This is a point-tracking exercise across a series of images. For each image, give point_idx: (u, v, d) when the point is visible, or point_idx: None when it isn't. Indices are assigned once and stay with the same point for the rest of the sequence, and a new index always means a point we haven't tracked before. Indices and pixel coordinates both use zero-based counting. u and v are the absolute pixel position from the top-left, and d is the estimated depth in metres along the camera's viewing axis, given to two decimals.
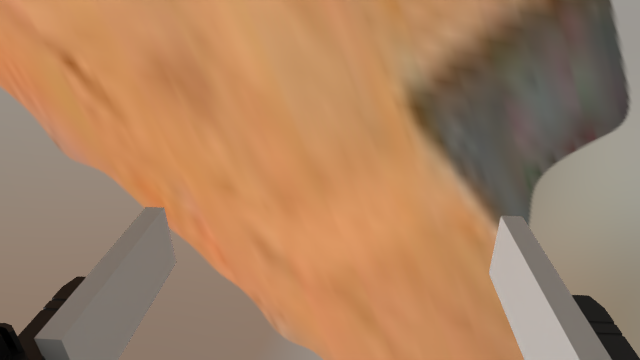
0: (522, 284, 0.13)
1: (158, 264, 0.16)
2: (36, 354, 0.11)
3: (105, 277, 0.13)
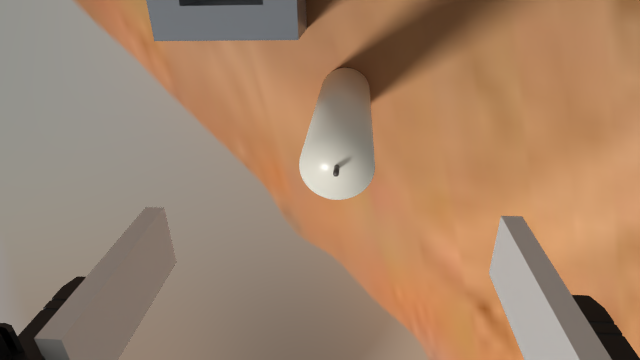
0: (522, 284, 0.13)
1: (158, 264, 0.16)
2: (36, 354, 0.11)
3: (105, 277, 0.13)
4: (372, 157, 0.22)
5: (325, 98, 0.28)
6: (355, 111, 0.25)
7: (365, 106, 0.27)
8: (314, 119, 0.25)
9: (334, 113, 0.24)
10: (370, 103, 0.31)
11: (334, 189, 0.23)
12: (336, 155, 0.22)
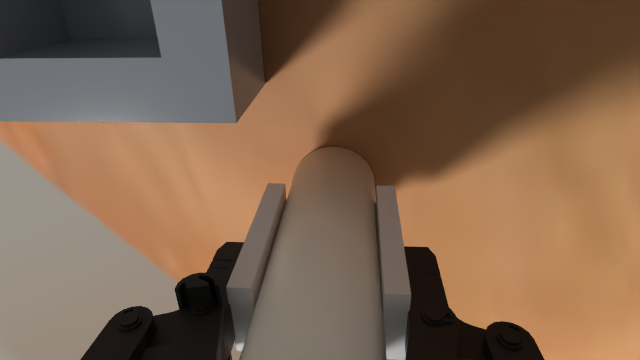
0: (378, 240, 0.16)
1: None
2: (222, 302, 0.13)
3: (262, 240, 0.15)
4: None
5: (288, 244, 0.14)
6: (347, 307, 0.11)
7: (369, 263, 0.13)
8: (257, 320, 0.11)
9: (297, 331, 0.10)
10: None
11: None
12: None
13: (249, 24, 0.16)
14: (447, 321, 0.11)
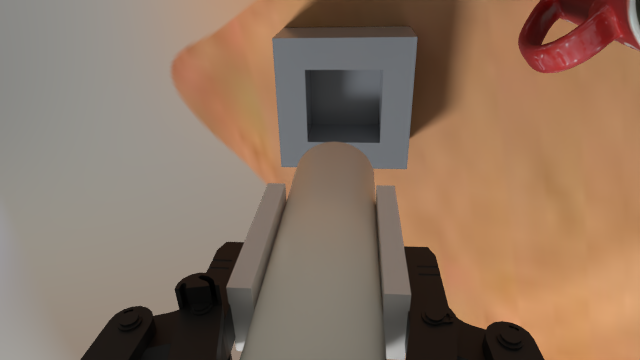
0: (378, 239, 0.16)
1: None
2: (222, 303, 0.13)
3: (262, 240, 0.15)
4: None
5: (291, 232, 0.14)
6: (348, 289, 0.12)
7: (368, 250, 0.14)
8: (262, 302, 0.12)
9: (301, 310, 0.11)
10: (376, 217, 0.17)
11: None
12: None
13: None
14: (447, 321, 0.11)
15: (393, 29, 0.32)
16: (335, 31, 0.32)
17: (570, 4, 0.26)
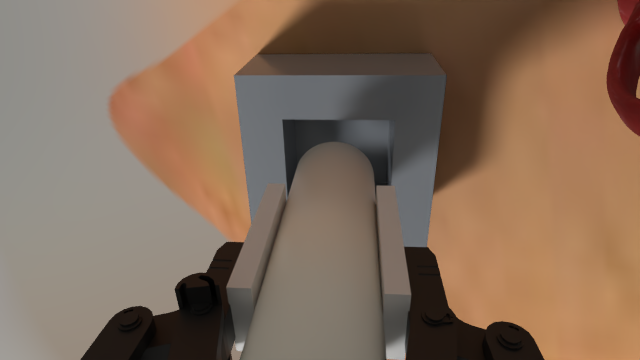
0: (378, 240, 0.16)
1: None
2: (222, 303, 0.13)
3: (262, 240, 0.15)
4: None
5: (291, 232, 0.14)
6: (348, 289, 0.12)
7: (368, 250, 0.14)
8: (262, 302, 0.12)
9: (301, 310, 0.11)
10: (376, 217, 0.17)
11: None
12: None
13: None
14: (447, 321, 0.11)
15: (408, 59, 0.23)
16: (327, 62, 0.22)
17: None
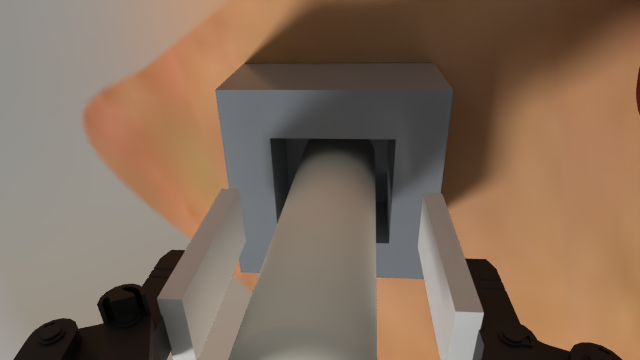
0: (431, 251, 0.15)
1: (235, 241, 0.17)
2: (155, 314, 0.12)
3: (204, 248, 0.14)
4: None
5: (297, 198, 0.16)
6: (344, 241, 0.14)
7: (364, 214, 0.16)
8: (271, 251, 0.14)
9: (303, 254, 0.13)
10: (374, 191, 0.19)
11: None
12: None
13: None
14: (527, 344, 0.11)
15: (410, 70, 0.20)
16: (320, 73, 0.20)
17: None
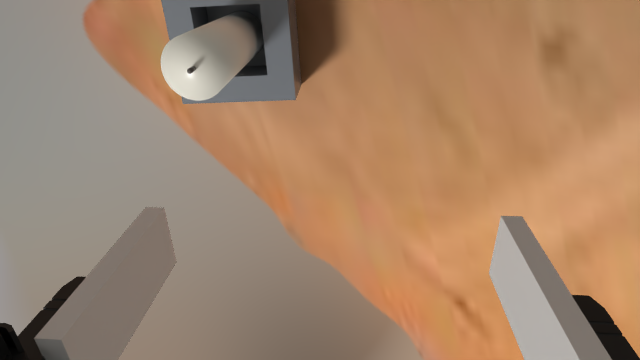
0: (521, 284, 0.13)
1: (158, 264, 0.16)
2: (36, 354, 0.11)
3: (105, 277, 0.13)
4: (222, 56, 0.25)
5: None
6: (220, 28, 0.28)
7: (238, 30, 0.30)
8: None
9: None
10: (254, 36, 0.34)
11: (196, 90, 0.26)
12: (191, 56, 0.25)
13: (297, 59, 0.38)
14: None
15: None
16: None
17: None
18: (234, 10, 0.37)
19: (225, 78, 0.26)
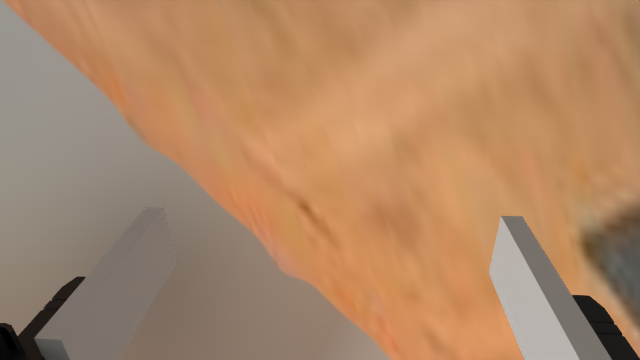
0: (522, 284, 0.13)
1: (158, 264, 0.16)
2: (36, 354, 0.11)
3: (105, 277, 0.13)
4: None
5: None
6: None
7: None
8: None
9: None
10: None
11: None
12: None
13: None
14: None
15: None
16: None
17: None
18: None
19: None
